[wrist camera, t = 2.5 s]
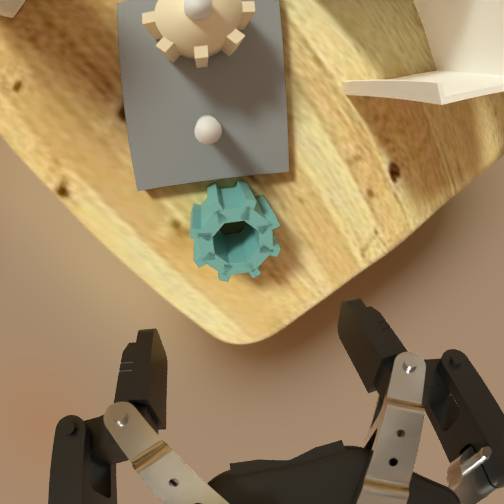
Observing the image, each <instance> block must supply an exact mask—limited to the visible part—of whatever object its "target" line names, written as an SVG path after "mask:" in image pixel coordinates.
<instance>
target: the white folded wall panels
mask: <svg viewBox="0 0 504 504" xmlns="http://www.w3.org/2000/svg"><path fill="white" fill-rule="evenodd" d="M413 2H414V4H415V7H416V9H417V12H418V14H419V17H420V20H421V22H422V25H423V28H424V31H425V34H426V37H427V40H428V43H429V46H430V49H431V53H432V56H433V60H434V63H435V67H436V71H430V72H424V73H419V74H413V75H408V76H403V77H398V78H393V79H388V80H351V81H343V82H342V85H343V88H344V91H345V94H346V95H357V96H373V97H385V98H395V99H404V100H412V101H419V102H426V103H432V104H439V105H444V104H448V103H452V102H456V101H460V100H465V99H469V98H474V97H478V96H483V95H488V94H493V93H498V92H503V91H504V0H413Z"/></svg>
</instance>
